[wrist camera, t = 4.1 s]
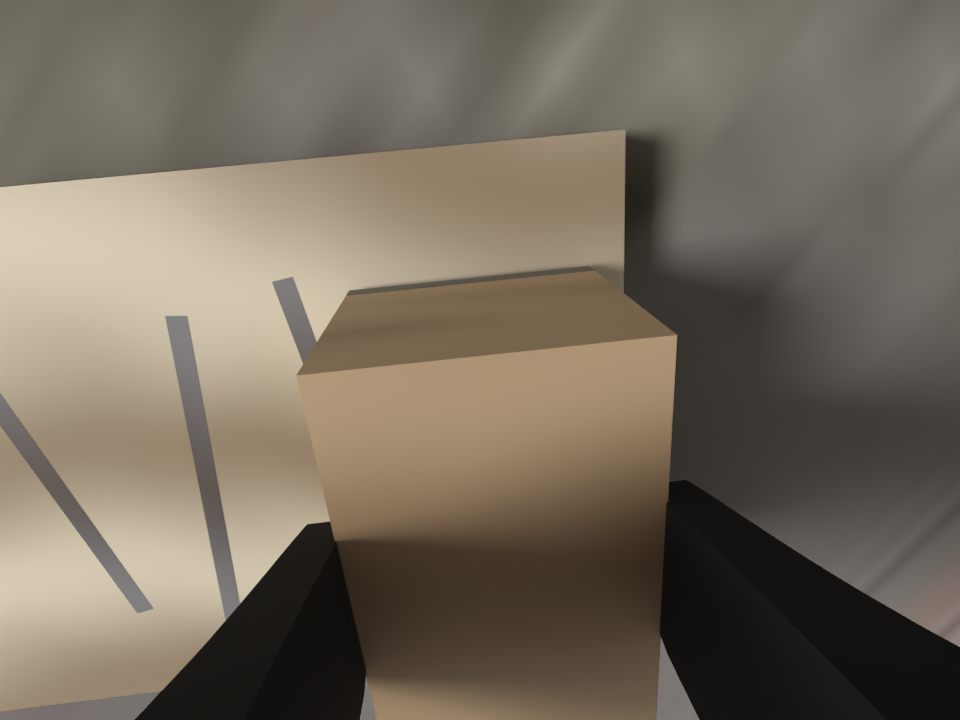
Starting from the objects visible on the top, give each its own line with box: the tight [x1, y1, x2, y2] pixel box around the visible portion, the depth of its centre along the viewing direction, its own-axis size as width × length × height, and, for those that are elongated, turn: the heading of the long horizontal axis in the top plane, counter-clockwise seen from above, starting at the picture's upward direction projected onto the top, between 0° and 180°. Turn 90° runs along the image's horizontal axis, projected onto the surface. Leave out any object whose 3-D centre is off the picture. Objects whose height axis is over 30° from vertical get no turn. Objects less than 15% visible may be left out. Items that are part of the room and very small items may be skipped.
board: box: [0, 130, 626, 711], centre depth 12 cm, size 12×18×1 cm, turn 95°
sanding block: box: [296, 266, 677, 720], centre depth 9 cm, size 7×4×4 cm, turn 5°
